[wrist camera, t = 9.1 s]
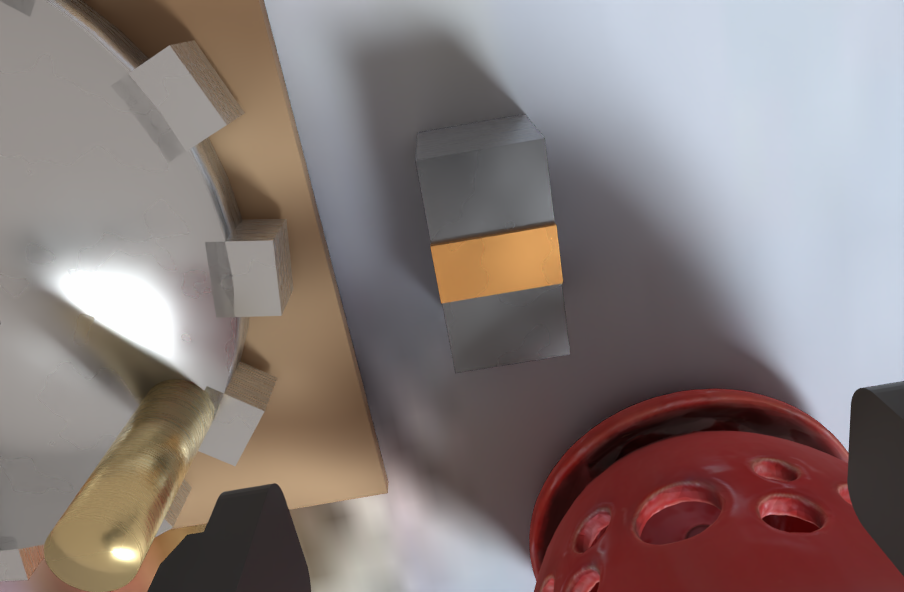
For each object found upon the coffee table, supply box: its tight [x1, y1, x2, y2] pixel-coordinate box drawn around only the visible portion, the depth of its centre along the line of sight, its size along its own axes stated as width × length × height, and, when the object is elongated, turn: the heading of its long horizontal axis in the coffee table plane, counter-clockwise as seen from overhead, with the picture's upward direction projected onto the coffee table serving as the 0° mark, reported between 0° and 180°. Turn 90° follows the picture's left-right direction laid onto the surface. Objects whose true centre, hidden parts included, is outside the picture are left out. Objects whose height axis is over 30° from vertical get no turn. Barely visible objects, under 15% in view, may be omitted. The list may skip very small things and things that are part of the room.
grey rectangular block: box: [415, 114, 570, 373], centre depth 21 cm, size 6×3×4 cm, turn 9°
